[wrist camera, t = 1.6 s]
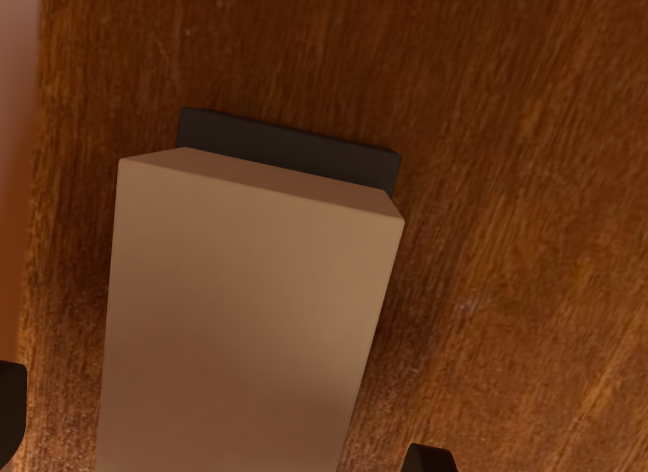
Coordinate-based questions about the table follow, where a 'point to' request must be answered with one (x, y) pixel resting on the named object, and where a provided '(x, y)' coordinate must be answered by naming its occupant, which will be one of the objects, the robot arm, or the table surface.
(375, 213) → the board eraser
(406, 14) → the table surface
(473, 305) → the table surface
